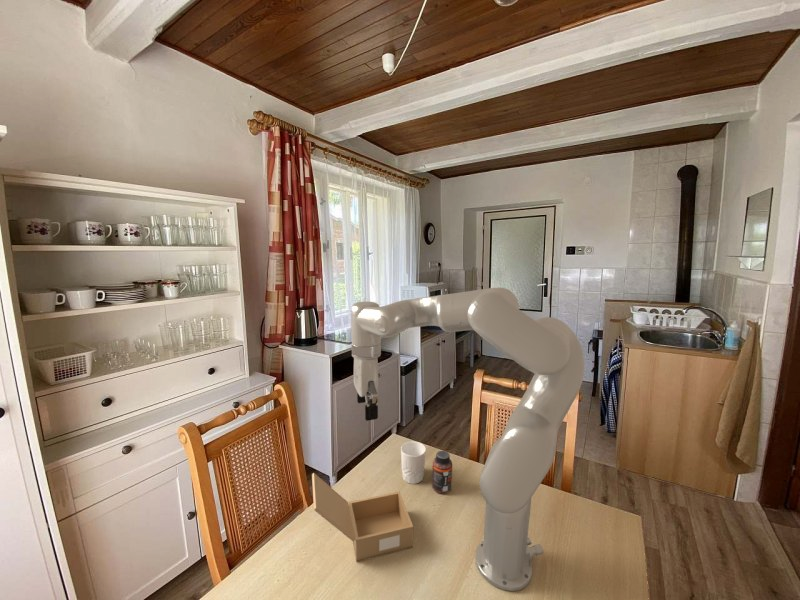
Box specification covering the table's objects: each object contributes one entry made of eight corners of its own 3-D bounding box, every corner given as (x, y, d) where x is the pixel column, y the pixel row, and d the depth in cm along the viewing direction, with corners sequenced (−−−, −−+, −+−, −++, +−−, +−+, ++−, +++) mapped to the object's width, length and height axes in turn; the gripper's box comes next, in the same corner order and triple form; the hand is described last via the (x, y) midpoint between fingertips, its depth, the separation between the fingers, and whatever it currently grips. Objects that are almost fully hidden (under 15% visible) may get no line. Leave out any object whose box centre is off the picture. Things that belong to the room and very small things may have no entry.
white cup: (399, 469, 112) (399, 441, 110) (422, 467, 113) (423, 440, 111) (401, 486, 104) (402, 457, 103) (427, 484, 105) (428, 455, 103)
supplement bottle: (450, 496, 101) (452, 462, 99) (430, 493, 102) (431, 459, 100) (451, 482, 106) (453, 449, 104) (432, 479, 107) (433, 447, 105)
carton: (399, 510, 95) (399, 491, 94) (412, 547, 84) (413, 526, 83) (349, 521, 91) (349, 502, 90) (356, 562, 80) (356, 540, 79)
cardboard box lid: (313, 472, 86) (311, 474, 86) (316, 507, 75) (313, 509, 74) (348, 502, 90) (346, 504, 90) (355, 539, 79) (353, 541, 79)
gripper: (346, 341, 95) (347, 398, 98) (359, 362, 79) (360, 429, 82) (372, 339, 97) (372, 394, 100) (389, 358, 81) (389, 424, 84)
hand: (367, 410), depth 91 cm, fingers open, 9 cm apart
